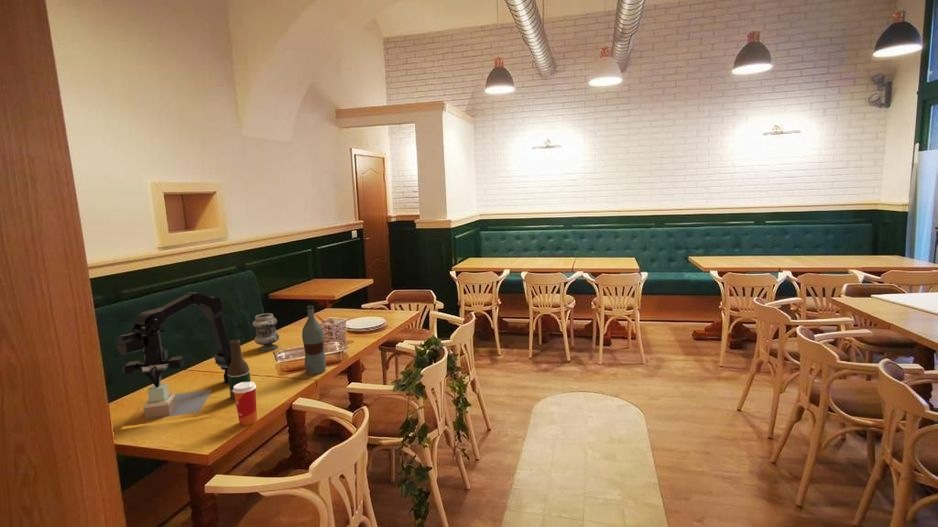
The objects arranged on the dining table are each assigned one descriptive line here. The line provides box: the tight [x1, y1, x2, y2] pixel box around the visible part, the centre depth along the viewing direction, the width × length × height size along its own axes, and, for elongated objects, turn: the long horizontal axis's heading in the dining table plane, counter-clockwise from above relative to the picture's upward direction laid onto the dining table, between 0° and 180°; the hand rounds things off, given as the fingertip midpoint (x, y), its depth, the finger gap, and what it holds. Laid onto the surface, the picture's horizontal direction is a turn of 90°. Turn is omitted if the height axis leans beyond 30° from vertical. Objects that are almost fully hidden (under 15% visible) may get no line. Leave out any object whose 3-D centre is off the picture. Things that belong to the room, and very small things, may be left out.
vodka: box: [301, 305, 327, 375], centre depth 223 cm, size 9×9×30 cm
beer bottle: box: [228, 339, 252, 401], centre depth 197 cm, size 8×8×24 cm
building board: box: [143, 389, 214, 421], centre depth 194 cm, size 18×22×6 cm
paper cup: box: [233, 381, 258, 427], centre depth 177 cm, size 8×8×14 cm
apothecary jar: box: [252, 312, 280, 353], centre depth 259 cm, size 12×12×18 cm
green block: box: [147, 383, 170, 403], centre depth 186 cm, size 5×5×6 cm
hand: (157, 386), depth 186 cm, fingers closed, pressing on green block
